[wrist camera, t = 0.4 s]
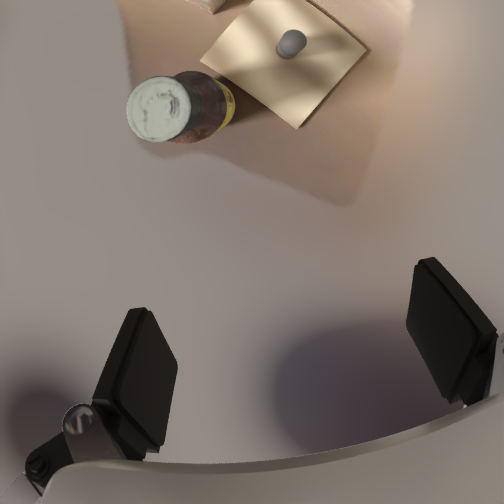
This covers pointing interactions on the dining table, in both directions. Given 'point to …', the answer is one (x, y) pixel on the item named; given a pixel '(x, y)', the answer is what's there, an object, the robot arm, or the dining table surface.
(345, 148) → the dining table surface
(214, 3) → the collar
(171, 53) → the dining table surface
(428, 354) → the robot arm
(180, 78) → the sauce bottle
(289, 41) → the post block
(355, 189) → the dining table surface
